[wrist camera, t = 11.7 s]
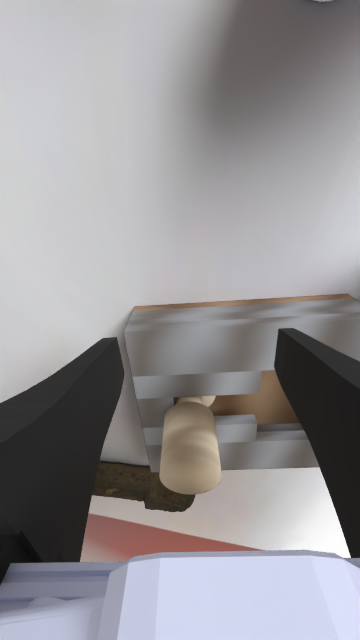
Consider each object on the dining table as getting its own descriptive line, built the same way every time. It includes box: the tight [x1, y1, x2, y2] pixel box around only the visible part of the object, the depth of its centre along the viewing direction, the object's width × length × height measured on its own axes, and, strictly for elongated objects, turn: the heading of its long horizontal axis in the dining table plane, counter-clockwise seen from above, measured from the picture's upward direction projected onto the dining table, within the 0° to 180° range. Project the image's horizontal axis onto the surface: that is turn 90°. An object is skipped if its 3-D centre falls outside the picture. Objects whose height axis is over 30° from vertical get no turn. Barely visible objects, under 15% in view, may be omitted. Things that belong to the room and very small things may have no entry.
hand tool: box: [92, 462, 196, 512], centre depth 30 cm, size 19×4×5 cm, turn 79°
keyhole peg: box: [159, 396, 222, 494], centre depth 20 cm, size 5×5×9 cm
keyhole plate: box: [124, 294, 360, 472], centre depth 23 cm, size 18×16×4 cm
